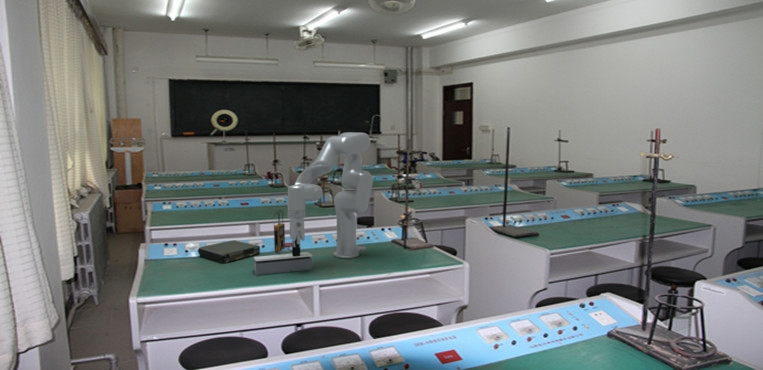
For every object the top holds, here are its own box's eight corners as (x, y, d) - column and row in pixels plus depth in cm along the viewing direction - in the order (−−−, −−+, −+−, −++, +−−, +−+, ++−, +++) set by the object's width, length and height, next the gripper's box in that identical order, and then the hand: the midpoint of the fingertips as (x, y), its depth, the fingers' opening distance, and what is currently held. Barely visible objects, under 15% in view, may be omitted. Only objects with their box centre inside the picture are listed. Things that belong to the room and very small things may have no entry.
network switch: (227, 265, 218) (227, 255, 217) (193, 258, 230) (192, 248, 229) (264, 254, 238) (263, 244, 237) (230, 248, 250) (230, 238, 249)
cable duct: (308, 265, 218) (308, 254, 217) (312, 269, 211) (311, 258, 211) (254, 270, 210) (254, 259, 209) (256, 275, 203) (255, 263, 202)
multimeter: (290, 254, 236) (289, 214, 234) (271, 253, 238) (270, 213, 236) (300, 247, 251) (300, 209, 248) (283, 246, 253) (282, 208, 250)
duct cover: (307, 254, 218) (307, 252, 218) (312, 256, 210) (311, 254, 210) (253, 259, 210) (253, 256, 210) (255, 261, 202) (255, 259, 202)
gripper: (308, 216, 201) (308, 259, 203) (301, 211, 215) (301, 251, 217) (291, 217, 198) (290, 260, 200) (284, 211, 212) (284, 252, 214)
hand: (296, 255), depth 208 cm, fingers closed
